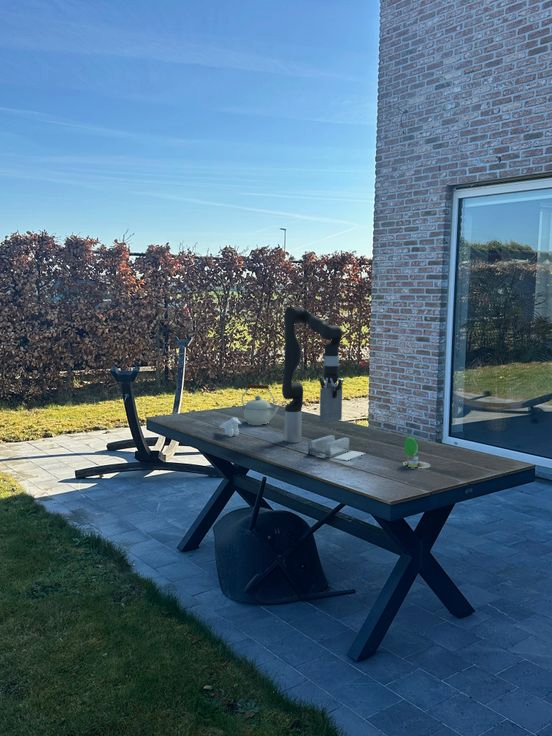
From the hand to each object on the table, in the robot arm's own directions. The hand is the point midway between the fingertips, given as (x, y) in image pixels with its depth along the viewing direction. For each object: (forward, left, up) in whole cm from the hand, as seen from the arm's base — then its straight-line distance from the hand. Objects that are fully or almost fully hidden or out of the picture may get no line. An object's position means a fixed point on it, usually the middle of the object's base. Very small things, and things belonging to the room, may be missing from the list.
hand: (330, 397), depth 323 cm
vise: (0, 0, -29) cm, 29 cm away
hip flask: (0, 0, -12) cm, 12 cm away
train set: (+45, +6, -30) cm, 54 cm away
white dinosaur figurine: (-69, -2, -29) cm, 75 cm away
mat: (+12, 0, -29) cm, 32 cm away
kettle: (-77, +36, -29) cm, 90 cm away
